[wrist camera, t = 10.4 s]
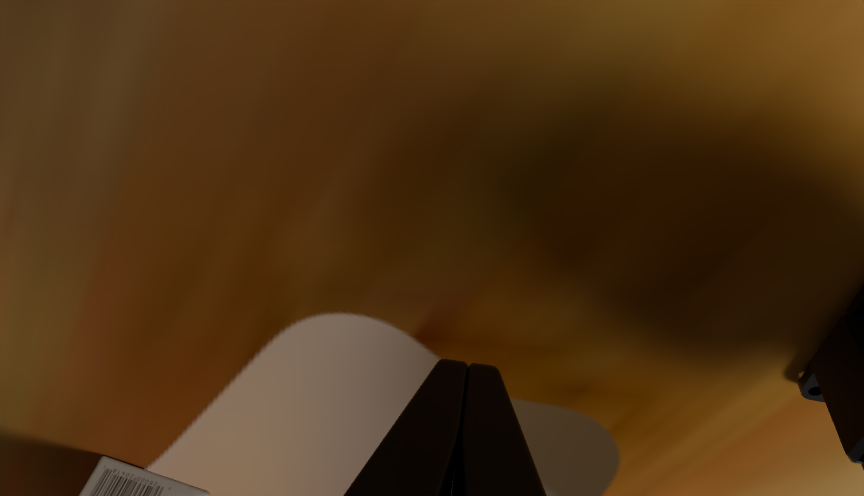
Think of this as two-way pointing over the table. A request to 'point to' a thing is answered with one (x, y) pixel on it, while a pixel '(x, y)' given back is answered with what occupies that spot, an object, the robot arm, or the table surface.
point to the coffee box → (133, 482)
